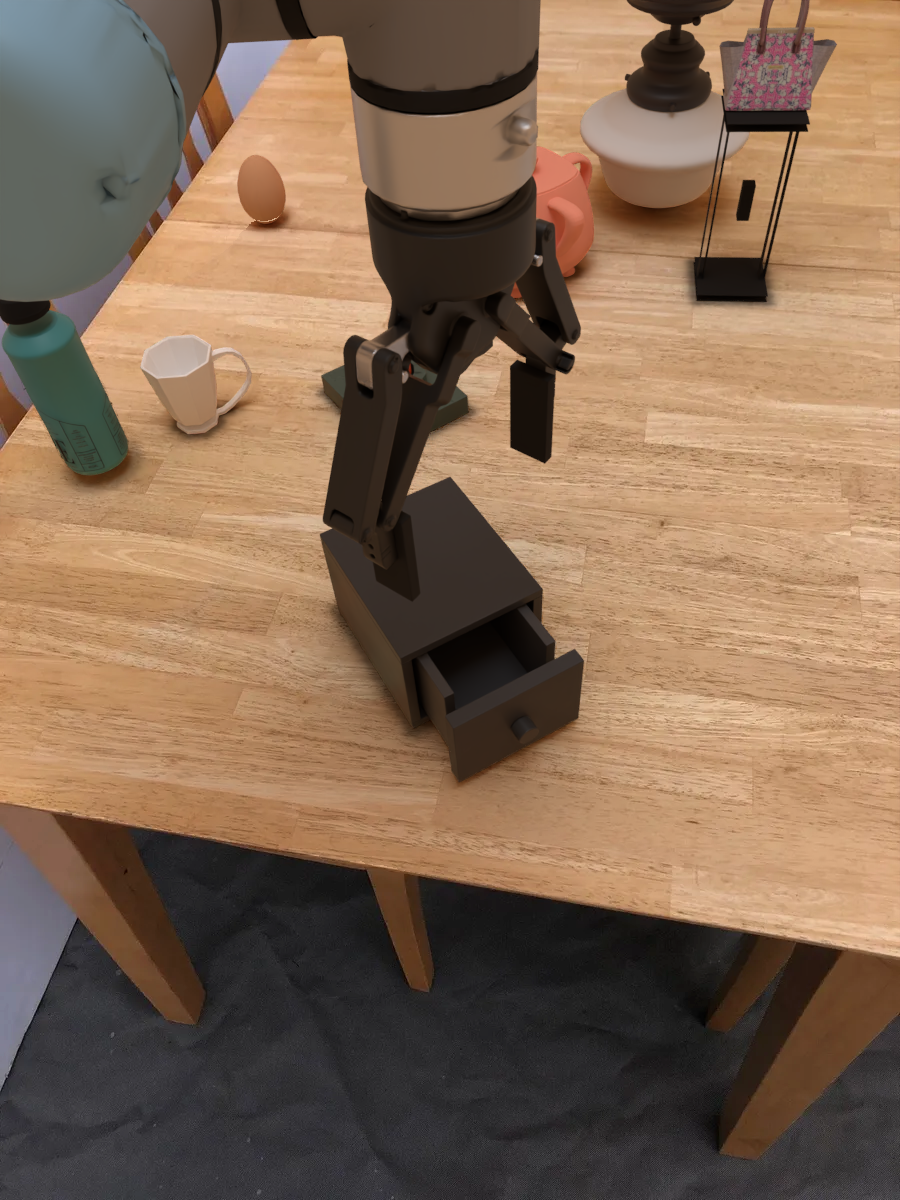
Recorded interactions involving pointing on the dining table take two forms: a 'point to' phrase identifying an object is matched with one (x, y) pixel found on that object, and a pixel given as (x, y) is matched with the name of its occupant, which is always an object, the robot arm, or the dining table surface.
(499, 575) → the cabinet
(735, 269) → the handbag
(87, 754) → the dining table surface
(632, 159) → the light fixture
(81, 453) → the beverage bottle
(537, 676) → the drawer
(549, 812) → the dining table surface
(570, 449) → the dining table surface
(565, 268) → the teapot
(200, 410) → the cup
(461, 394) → the button block
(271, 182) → the egg
